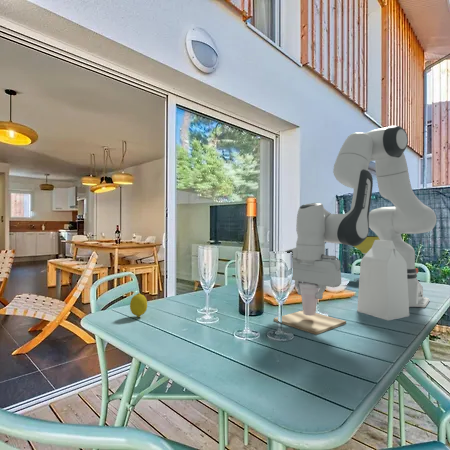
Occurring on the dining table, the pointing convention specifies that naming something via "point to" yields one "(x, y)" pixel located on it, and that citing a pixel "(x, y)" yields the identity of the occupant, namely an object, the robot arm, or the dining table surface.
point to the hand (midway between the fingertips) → (309, 296)
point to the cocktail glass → (366, 245)
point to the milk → (383, 282)
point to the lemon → (138, 305)
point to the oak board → (311, 322)
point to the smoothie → (309, 297)
